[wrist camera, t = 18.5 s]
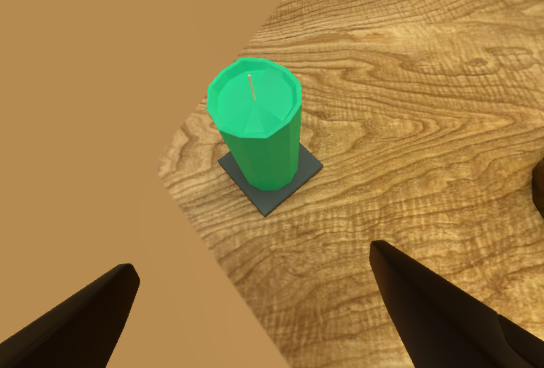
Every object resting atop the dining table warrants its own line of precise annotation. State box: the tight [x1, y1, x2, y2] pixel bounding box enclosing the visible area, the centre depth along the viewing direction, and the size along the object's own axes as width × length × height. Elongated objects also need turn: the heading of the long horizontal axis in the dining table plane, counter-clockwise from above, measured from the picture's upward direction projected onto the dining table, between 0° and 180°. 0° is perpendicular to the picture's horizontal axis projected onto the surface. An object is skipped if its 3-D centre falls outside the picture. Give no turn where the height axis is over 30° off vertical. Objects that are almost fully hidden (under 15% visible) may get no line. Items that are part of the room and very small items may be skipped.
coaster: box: [218, 143, 323, 217], centre depth 24 cm, size 8×8×1 cm
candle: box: [206, 57, 302, 191], centre depth 18 cm, size 6×6×12 cm
